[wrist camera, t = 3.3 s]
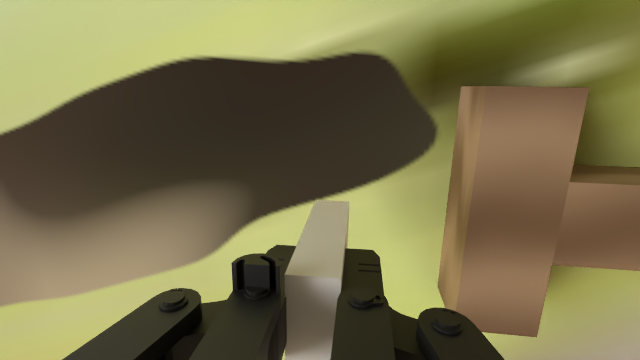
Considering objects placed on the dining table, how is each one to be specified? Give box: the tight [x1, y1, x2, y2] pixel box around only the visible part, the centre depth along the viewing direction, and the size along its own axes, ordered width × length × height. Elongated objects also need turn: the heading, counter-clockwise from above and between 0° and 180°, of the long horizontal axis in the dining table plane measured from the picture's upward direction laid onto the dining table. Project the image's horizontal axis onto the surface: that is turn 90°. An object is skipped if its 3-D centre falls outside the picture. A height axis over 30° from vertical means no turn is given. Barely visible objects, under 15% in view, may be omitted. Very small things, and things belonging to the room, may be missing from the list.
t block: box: [438, 86, 640, 337], centre depth 17 cm, size 12×12×4 cm
